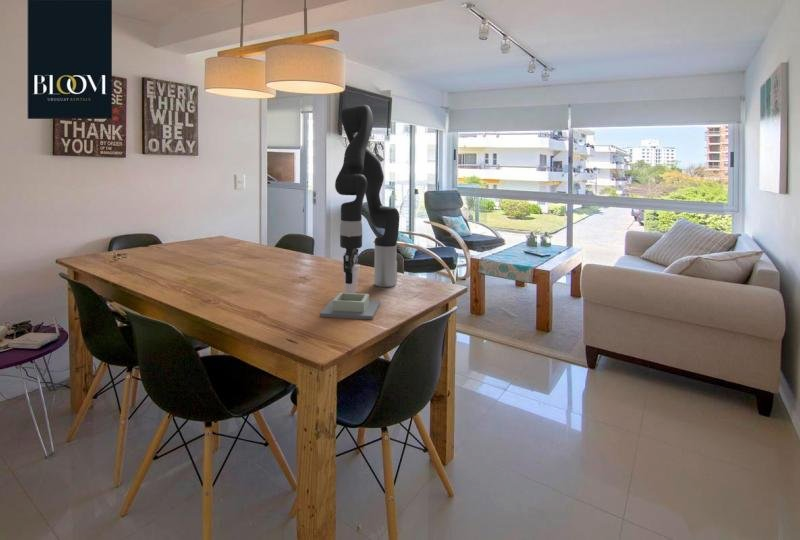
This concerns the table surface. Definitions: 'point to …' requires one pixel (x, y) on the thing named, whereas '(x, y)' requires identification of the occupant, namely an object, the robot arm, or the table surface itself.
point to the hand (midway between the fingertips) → (350, 280)
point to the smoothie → (352, 287)
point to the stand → (351, 306)
